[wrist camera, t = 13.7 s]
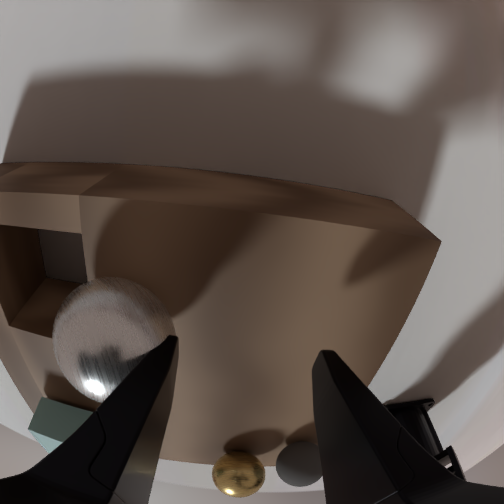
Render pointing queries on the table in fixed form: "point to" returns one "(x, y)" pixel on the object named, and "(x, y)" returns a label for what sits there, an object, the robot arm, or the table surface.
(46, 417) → the teal block
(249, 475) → the brass ball
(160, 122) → the table surface
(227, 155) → the table surface
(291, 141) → the table surface
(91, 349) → the steel ball
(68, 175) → the board
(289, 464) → the black rubber ball
